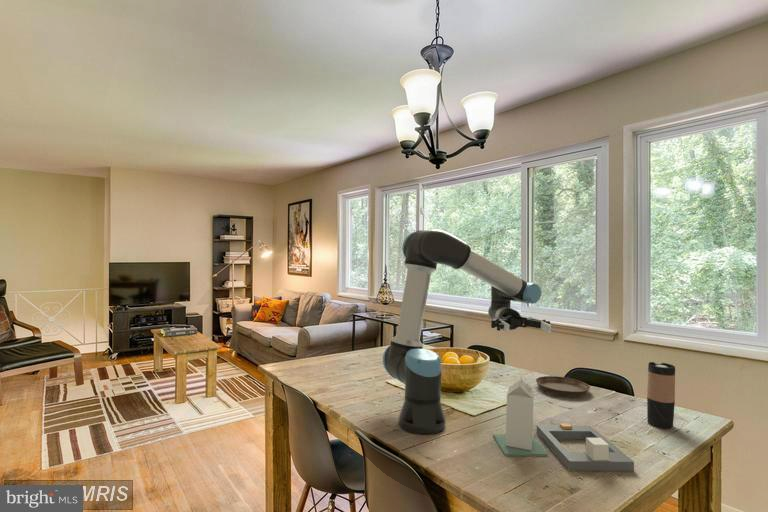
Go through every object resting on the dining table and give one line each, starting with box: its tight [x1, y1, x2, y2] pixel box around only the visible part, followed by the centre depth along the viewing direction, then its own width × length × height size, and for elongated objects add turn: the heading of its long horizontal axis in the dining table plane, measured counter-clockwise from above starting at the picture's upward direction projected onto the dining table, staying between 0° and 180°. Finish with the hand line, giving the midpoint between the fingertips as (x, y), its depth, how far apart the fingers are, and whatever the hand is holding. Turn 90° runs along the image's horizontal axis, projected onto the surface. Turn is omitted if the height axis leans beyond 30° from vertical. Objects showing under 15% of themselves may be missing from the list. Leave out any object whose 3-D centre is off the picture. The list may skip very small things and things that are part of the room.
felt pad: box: [492, 433, 549, 457], centre depth 120 cm, size 12×12×1 cm
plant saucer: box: [535, 375, 591, 398], centre depth 170 cm, size 21×21×3 cm
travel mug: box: [646, 361, 676, 430], centre depth 137 cm, size 8×8×20 cm
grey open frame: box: [536, 423, 635, 472], centre depth 118 cm, size 17×22×7 cm
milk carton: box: [505, 375, 534, 450], centre depth 120 cm, size 7×7×19 cm
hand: (529, 329), depth 133 cm, fingers open, 13 cm apart
